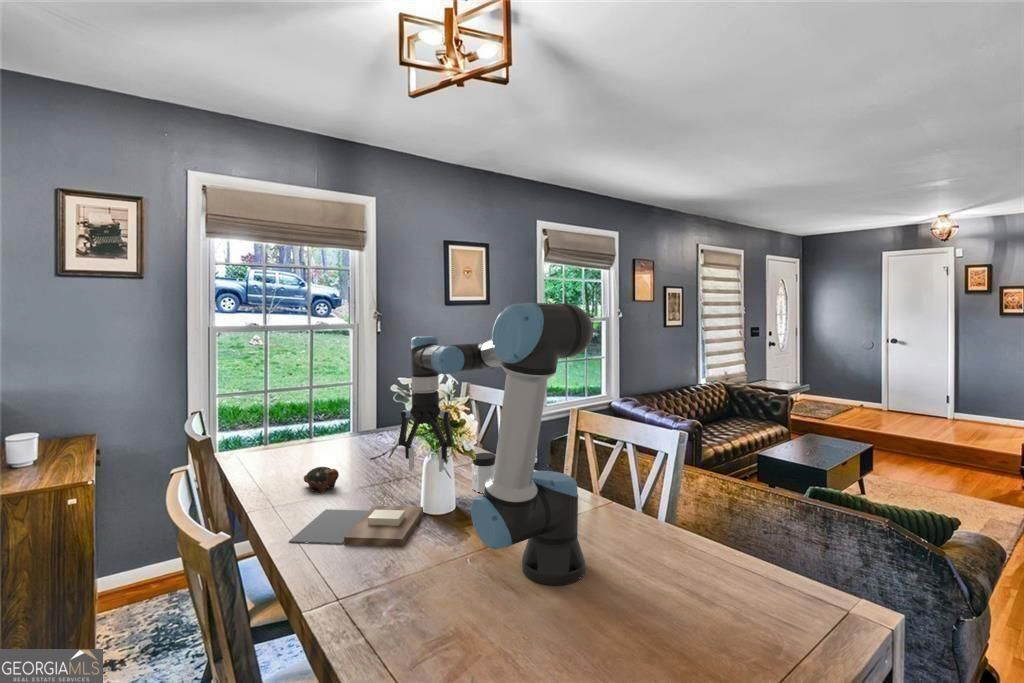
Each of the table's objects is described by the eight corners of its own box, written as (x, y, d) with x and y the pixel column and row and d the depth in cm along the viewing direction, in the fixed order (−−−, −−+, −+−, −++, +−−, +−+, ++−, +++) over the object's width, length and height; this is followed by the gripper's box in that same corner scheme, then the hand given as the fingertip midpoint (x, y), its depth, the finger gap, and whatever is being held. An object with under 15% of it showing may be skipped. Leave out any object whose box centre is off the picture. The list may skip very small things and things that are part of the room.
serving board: (423, 513, 154) (423, 506, 154) (402, 546, 132) (402, 538, 132) (373, 511, 155) (373, 505, 155) (344, 544, 133) (343, 537, 133)
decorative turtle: (331, 495, 169) (328, 473, 168) (295, 493, 174) (292, 471, 173) (349, 485, 178) (346, 463, 178) (314, 483, 183) (312, 462, 183)
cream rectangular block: (405, 517, 146) (404, 510, 146) (398, 525, 140) (398, 518, 140) (375, 516, 147) (375, 509, 147) (367, 524, 141) (367, 517, 141)
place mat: (372, 511, 155) (372, 510, 155) (342, 544, 133) (342, 542, 133) (325, 510, 156) (325, 509, 156) (288, 542, 134) (288, 541, 134)
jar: (468, 488, 176) (467, 454, 175) (487, 483, 180) (487, 451, 180) (481, 495, 168) (481, 460, 168) (501, 490, 173) (501, 456, 172)
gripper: (463, 389, 143) (464, 466, 144) (393, 388, 145) (395, 465, 146) (459, 393, 136) (460, 474, 137) (384, 392, 137) (386, 473, 139)
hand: (426, 469), depth 141 cm, fingers open, 8 cm apart
